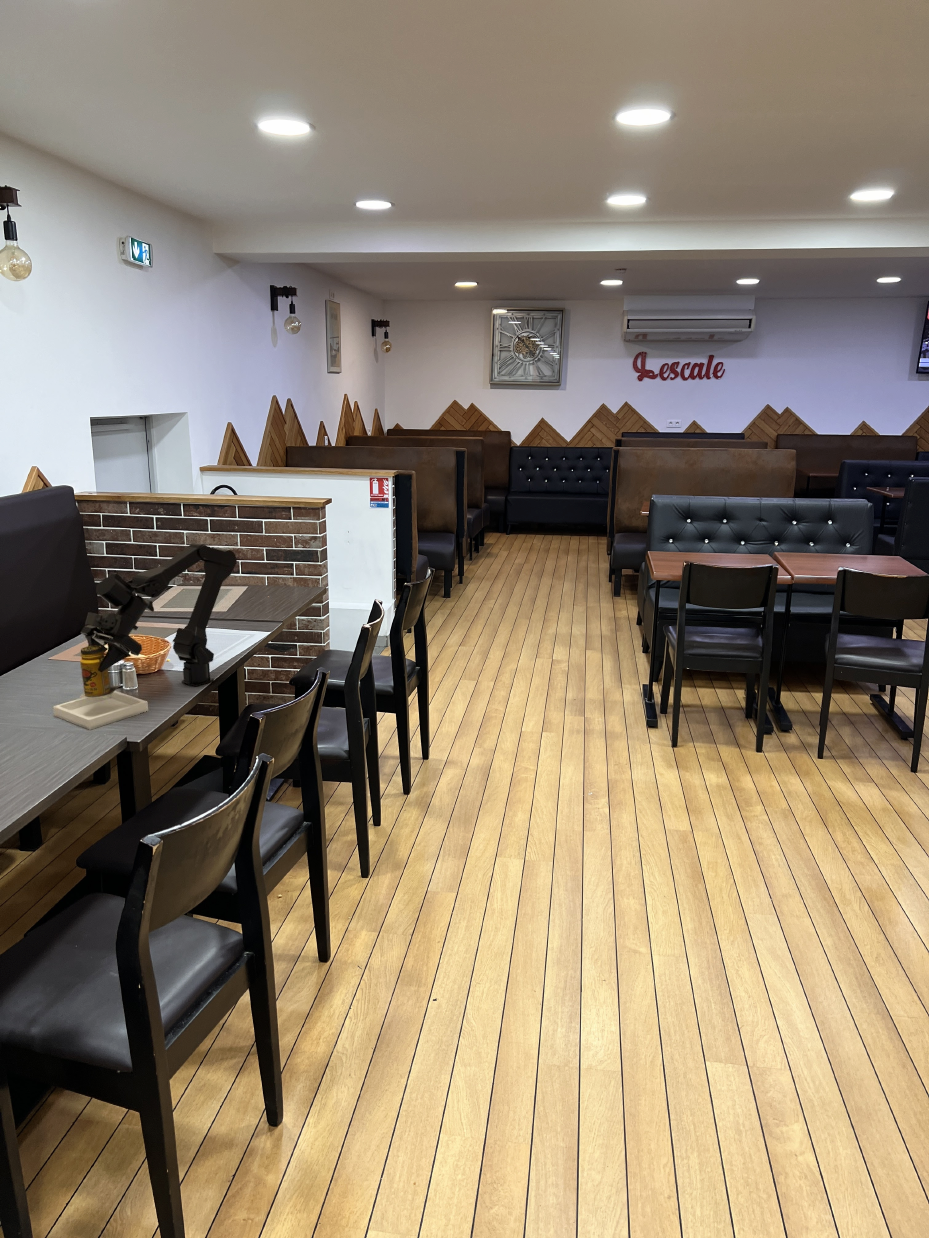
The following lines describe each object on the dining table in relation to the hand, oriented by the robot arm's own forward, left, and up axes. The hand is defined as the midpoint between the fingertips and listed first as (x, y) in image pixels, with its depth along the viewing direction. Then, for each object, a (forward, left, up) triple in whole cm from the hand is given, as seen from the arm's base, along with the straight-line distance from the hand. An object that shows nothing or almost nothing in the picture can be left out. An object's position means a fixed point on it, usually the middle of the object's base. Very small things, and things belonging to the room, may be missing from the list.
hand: (92, 668), depth 211 cm
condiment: (-1, 0, -7) cm, 7 cm away
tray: (-1, 0, -12) cm, 12 cm away
